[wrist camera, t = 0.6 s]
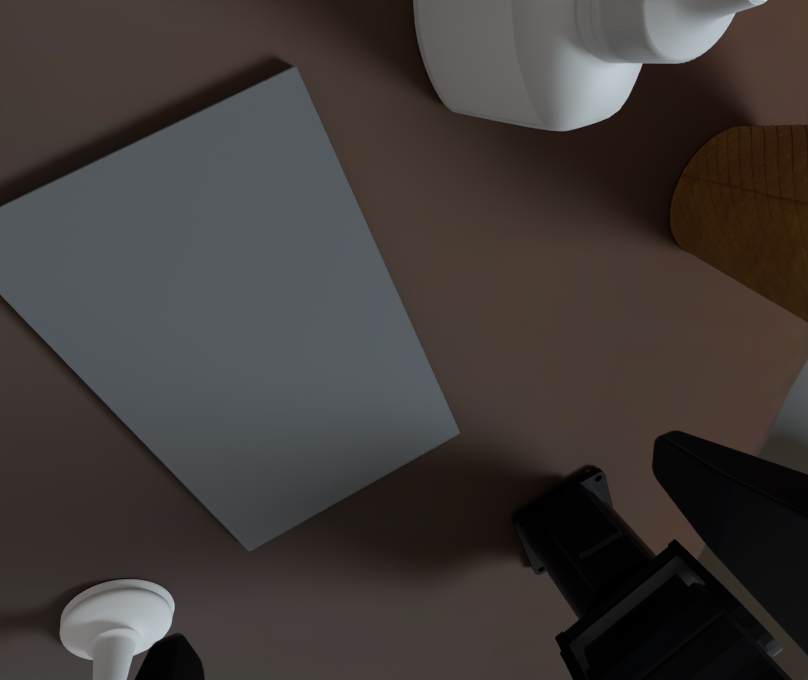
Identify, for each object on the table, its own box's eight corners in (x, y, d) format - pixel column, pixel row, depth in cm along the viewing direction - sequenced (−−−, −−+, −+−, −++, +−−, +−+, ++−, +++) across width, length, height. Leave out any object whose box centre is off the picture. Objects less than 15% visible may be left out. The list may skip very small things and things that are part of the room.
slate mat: (455, 426, 27) (460, 433, 27) (248, 542, 26) (249, 552, 26) (293, 66, 17) (296, 66, 17) (-50, 229, 16) (-58, 234, 16)
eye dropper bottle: (381, 89, 19) (591, 124, 9) (425, -101, 16) (771, -348, 6) (484, 122, 20) (758, 183, 10) (536, -45, 18) (942, -172, 8)
